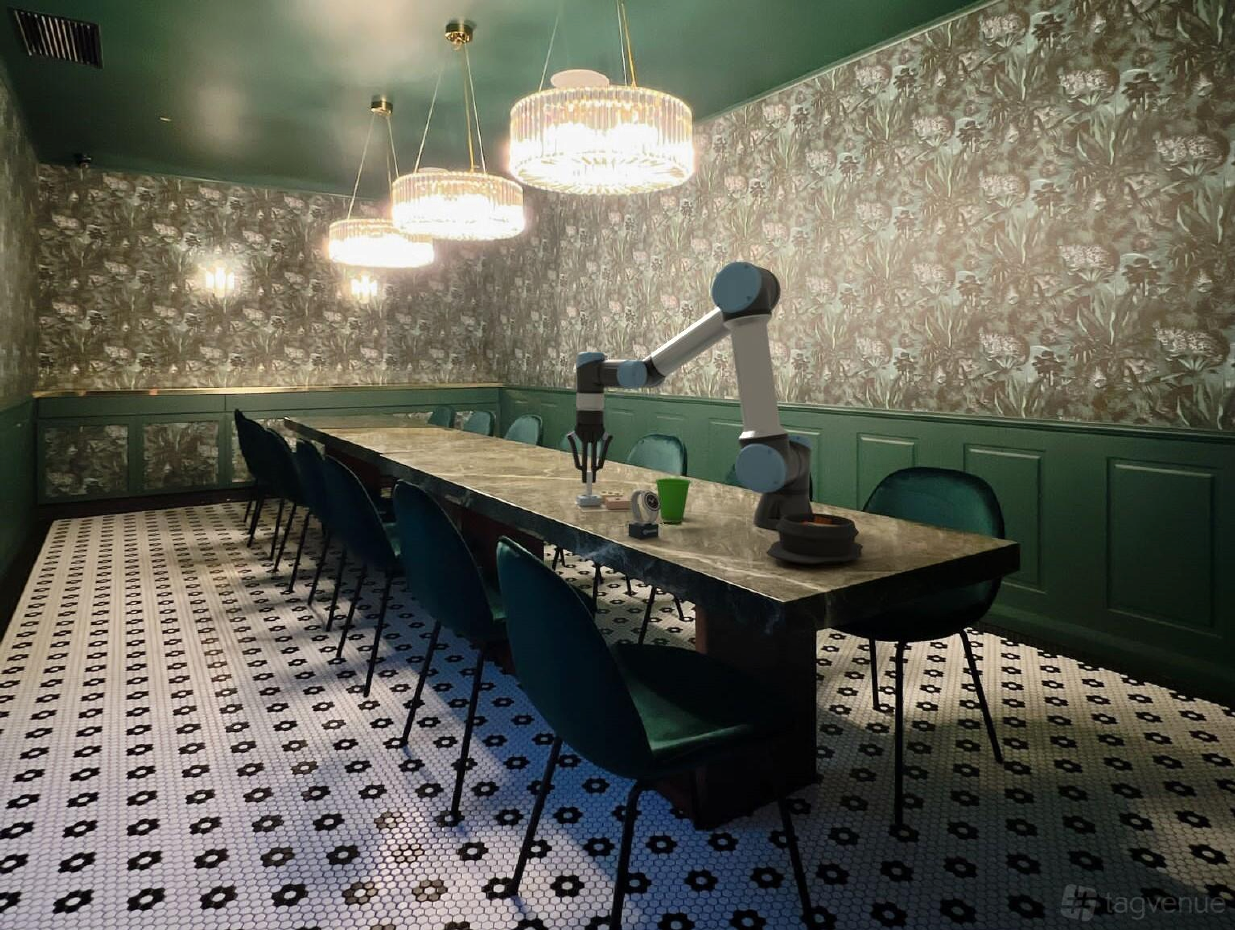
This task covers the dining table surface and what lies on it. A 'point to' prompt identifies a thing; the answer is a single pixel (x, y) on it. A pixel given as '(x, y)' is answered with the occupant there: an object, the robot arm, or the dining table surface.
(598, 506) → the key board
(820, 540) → the casserole
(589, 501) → the tile two
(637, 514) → the watch
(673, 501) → the cup
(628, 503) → the tile one
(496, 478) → the dining table surface
